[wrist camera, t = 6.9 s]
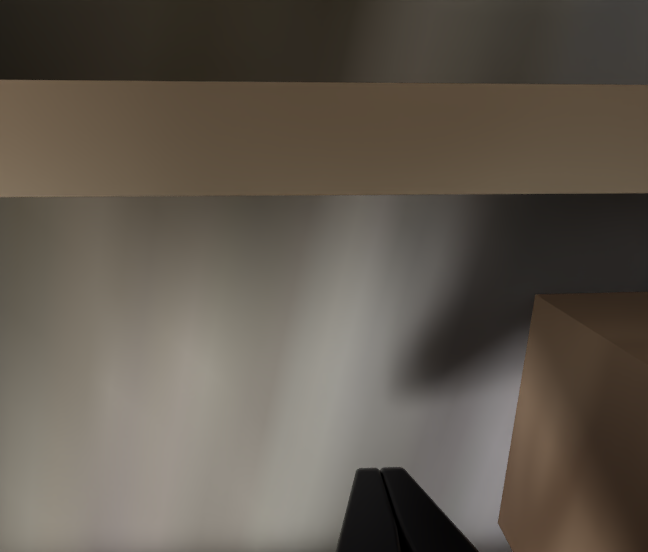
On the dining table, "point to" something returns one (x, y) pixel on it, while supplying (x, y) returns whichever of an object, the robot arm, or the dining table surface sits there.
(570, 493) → the cardboard box
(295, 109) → the bay
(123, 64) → the dining table surface
